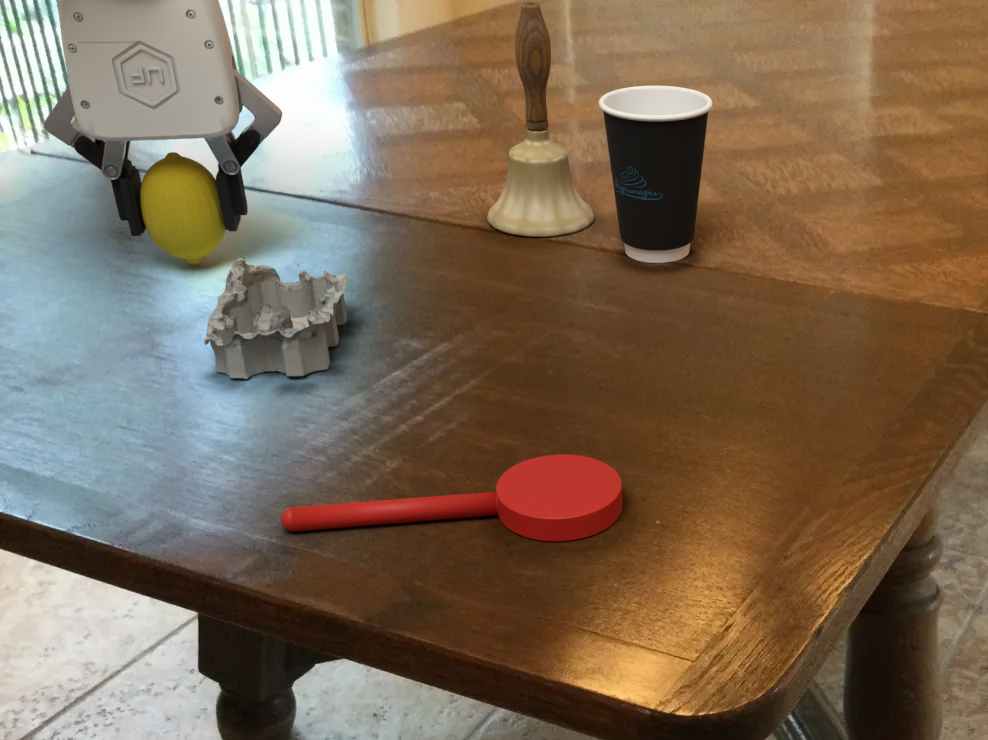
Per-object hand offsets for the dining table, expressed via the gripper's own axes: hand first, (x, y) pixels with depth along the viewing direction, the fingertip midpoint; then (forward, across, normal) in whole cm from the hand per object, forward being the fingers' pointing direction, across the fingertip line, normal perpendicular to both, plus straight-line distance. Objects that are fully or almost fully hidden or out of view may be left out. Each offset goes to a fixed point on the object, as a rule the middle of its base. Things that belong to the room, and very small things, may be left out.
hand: (187, 224), depth 94 cm
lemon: (+3, 0, 0) cm, 3 cm away
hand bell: (+3, +25, +6) cm, 26 cm away
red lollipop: (+3, +18, -37) cm, 41 cm away
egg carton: (+3, +8, -15) cm, 17 cm away
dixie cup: (+3, +33, -2) cm, 33 cm away
